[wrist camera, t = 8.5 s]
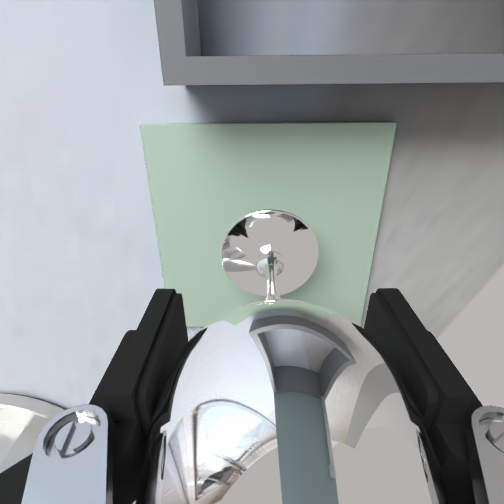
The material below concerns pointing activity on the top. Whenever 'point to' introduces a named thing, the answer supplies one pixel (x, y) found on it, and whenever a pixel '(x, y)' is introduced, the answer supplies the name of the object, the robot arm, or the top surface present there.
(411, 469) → the wineglass
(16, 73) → the top surface
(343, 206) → the mat
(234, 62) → the case
